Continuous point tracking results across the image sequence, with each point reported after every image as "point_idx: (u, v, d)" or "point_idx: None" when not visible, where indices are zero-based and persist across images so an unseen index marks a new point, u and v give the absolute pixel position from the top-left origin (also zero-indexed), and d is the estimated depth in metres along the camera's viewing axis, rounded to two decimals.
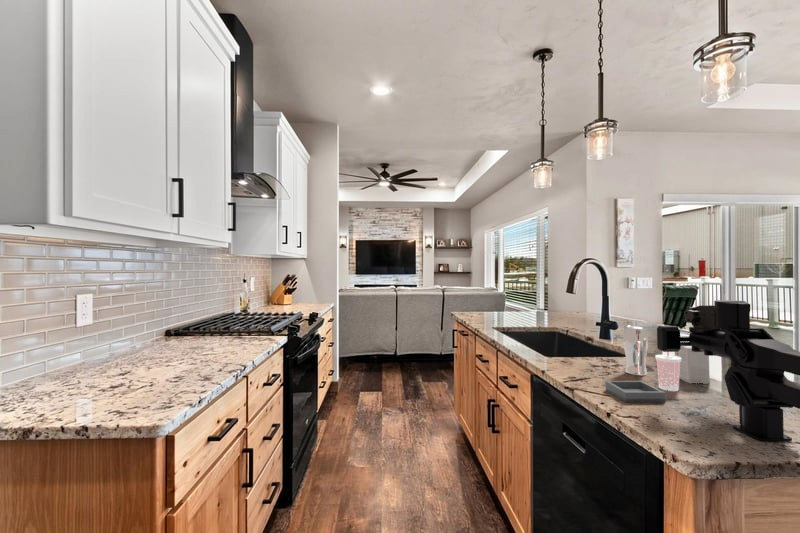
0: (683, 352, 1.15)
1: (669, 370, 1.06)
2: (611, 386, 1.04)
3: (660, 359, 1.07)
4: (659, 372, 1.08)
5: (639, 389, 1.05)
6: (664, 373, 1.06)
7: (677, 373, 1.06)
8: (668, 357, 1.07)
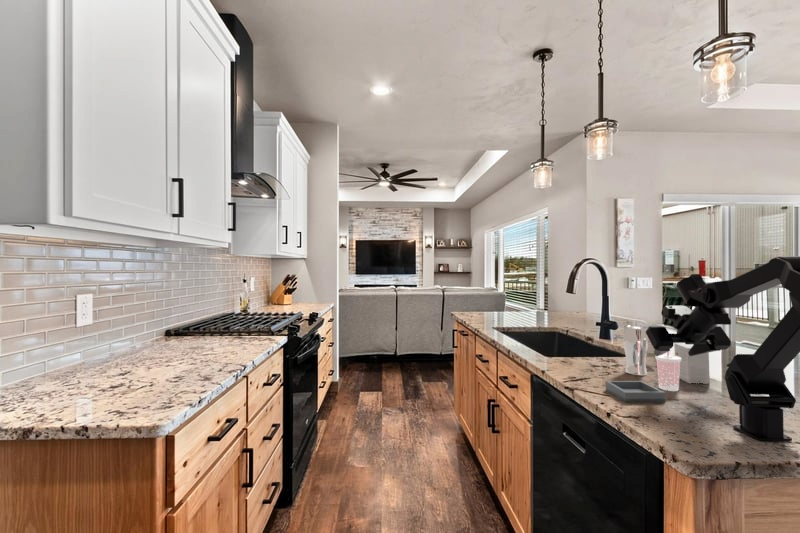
0: (683, 352, 1.15)
1: (669, 370, 1.06)
2: (611, 386, 1.04)
3: (660, 359, 1.07)
4: (659, 372, 1.08)
5: (639, 389, 1.05)
6: (664, 373, 1.06)
7: (677, 373, 1.06)
8: (668, 357, 1.07)
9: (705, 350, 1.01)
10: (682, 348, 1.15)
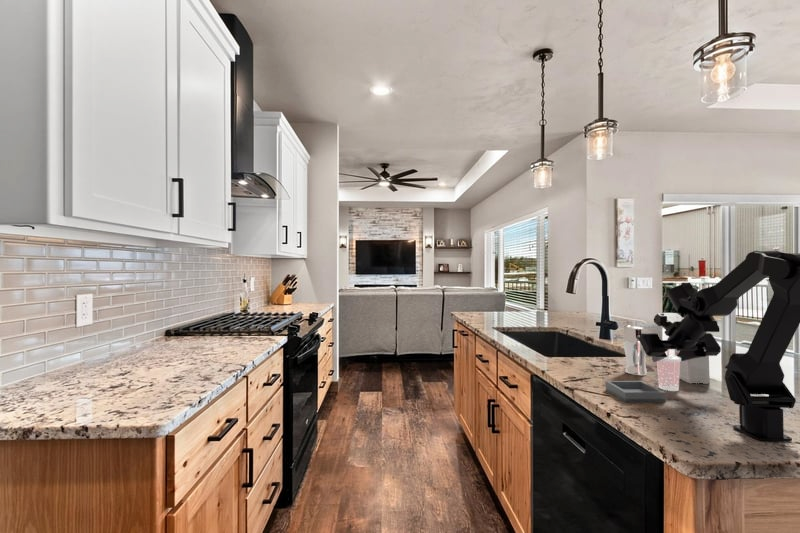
0: None
1: (669, 370, 1.06)
2: (611, 386, 1.04)
3: None
4: (659, 372, 1.08)
5: (639, 389, 1.05)
6: (664, 373, 1.06)
7: (677, 373, 1.06)
8: (668, 357, 1.07)
9: (691, 356, 1.04)
10: None
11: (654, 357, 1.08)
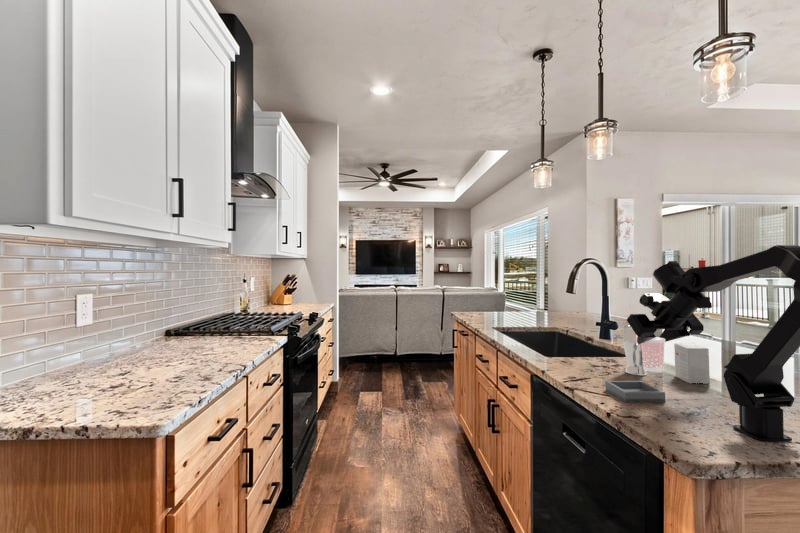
0: (683, 352, 1.15)
1: (654, 351, 1.04)
2: (611, 386, 1.04)
3: None
4: (644, 354, 1.06)
5: (639, 389, 1.05)
6: (650, 355, 1.05)
7: (662, 354, 1.04)
8: (653, 338, 1.06)
9: (675, 336, 1.03)
10: (682, 348, 1.15)
11: (640, 339, 1.05)
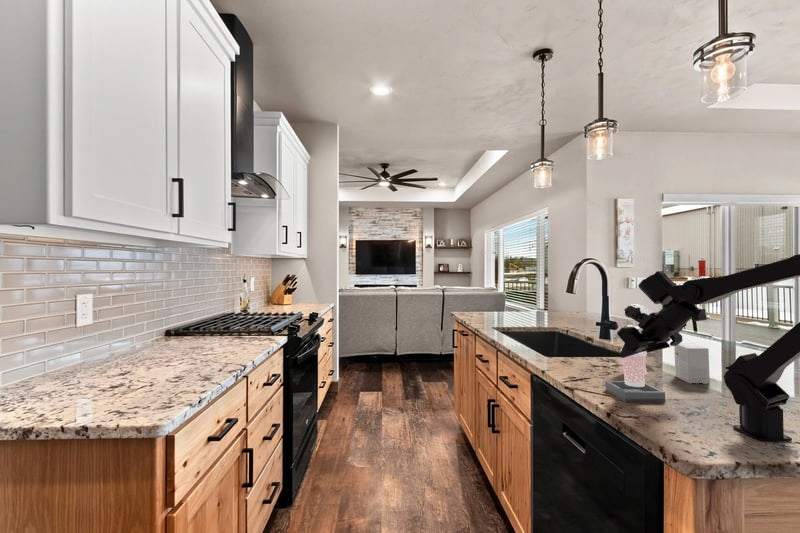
0: (683, 352, 1.15)
1: (639, 365, 1.00)
2: (611, 386, 1.04)
3: None
4: (628, 368, 1.01)
5: (639, 389, 1.05)
6: (635, 369, 1.00)
7: None
8: None
9: (657, 348, 1.00)
10: (682, 348, 1.15)
11: (625, 352, 1.00)
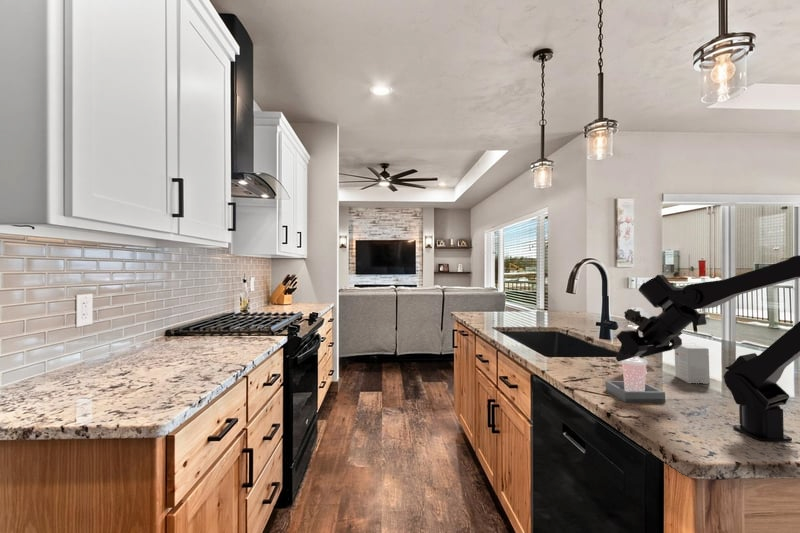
0: (683, 352, 1.15)
1: (639, 374, 1.00)
2: (611, 386, 1.04)
3: (631, 363, 1.00)
4: (628, 377, 1.01)
5: None
6: (635, 378, 1.00)
7: (645, 376, 1.00)
8: (636, 360, 1.01)
9: (659, 351, 1.01)
10: (682, 348, 1.15)
11: (621, 356, 1.00)
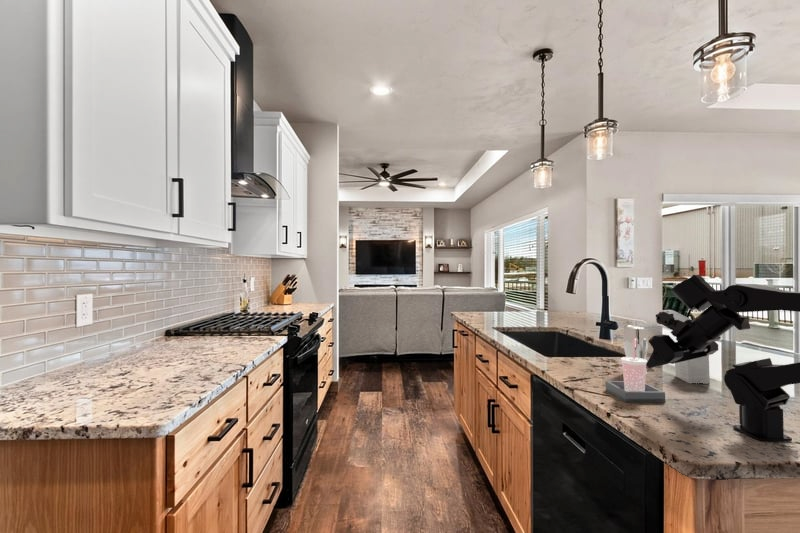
0: None
1: (639, 374, 1.00)
2: (611, 386, 1.04)
3: (630, 363, 1.00)
4: (628, 377, 1.01)
5: None
6: (635, 378, 1.00)
7: (645, 376, 1.01)
8: (635, 360, 1.01)
9: (694, 357, 0.94)
10: None
11: (653, 363, 0.92)
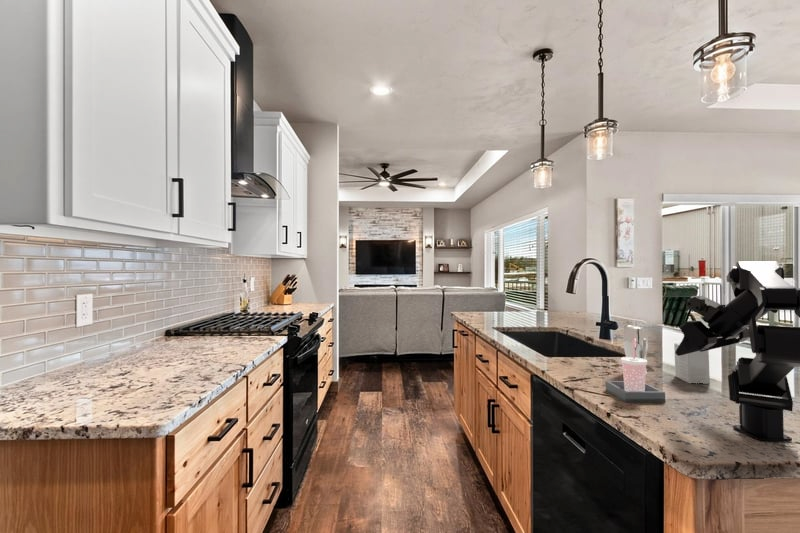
0: None
1: (639, 374, 1.00)
2: (611, 386, 1.04)
3: (630, 363, 1.00)
4: (628, 377, 1.01)
5: None
6: (635, 378, 1.00)
7: (645, 376, 1.01)
8: (635, 360, 1.01)
9: (725, 344, 0.91)
10: None
11: (683, 350, 0.89)
